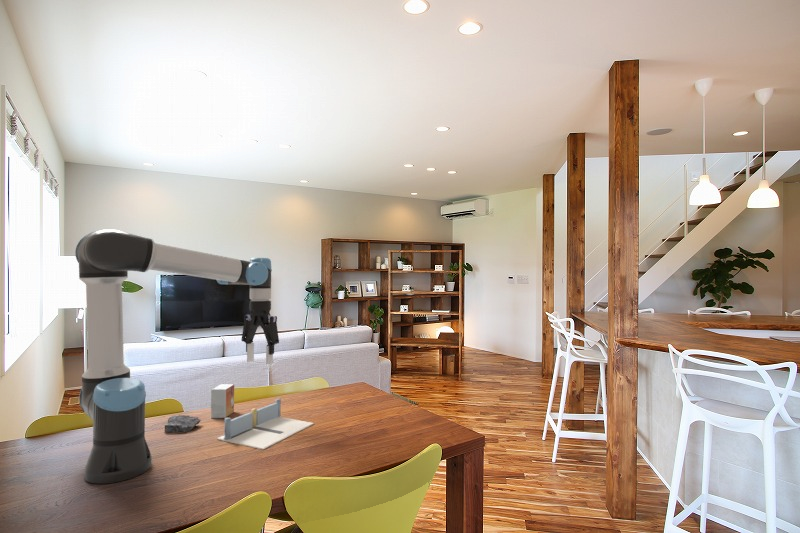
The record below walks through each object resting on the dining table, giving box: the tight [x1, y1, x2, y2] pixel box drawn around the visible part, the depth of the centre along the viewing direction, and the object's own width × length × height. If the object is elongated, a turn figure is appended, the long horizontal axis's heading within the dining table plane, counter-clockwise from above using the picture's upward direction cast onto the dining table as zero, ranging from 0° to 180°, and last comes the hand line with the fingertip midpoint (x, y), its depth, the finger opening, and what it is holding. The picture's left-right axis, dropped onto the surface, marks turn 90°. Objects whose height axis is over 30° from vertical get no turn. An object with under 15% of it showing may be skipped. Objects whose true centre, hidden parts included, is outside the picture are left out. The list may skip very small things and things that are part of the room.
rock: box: [164, 414, 201, 434], centre depth 149 cm, size 8×10×4 cm
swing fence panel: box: [251, 398, 282, 427], centre depth 155 cm, size 14×2×6 cm, turn 155°
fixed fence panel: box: [224, 412, 252, 440], centre depth 143 cm, size 11×2×7 cm, turn 155°
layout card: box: [216, 416, 314, 451], centre depth 147 cm, size 25×19×1 cm
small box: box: [210, 383, 235, 419], centre depth 164 cm, size 8×6×10 cm
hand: (259, 362), depth 161 cm, fingers open, 8 cm apart
